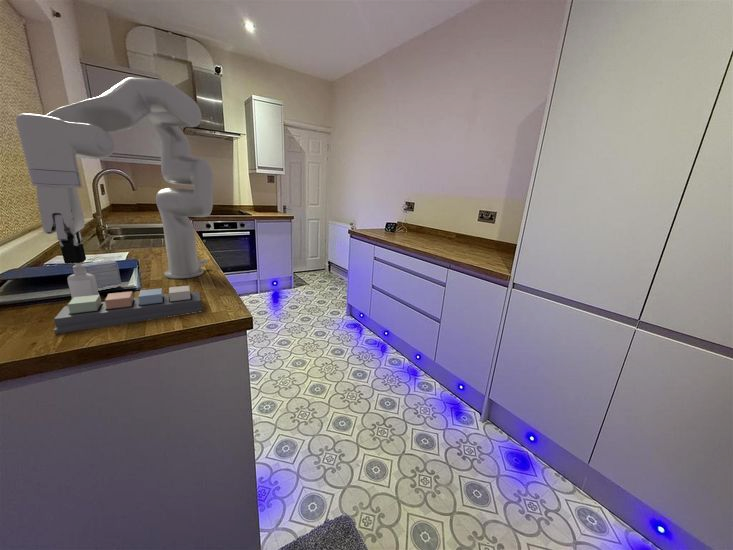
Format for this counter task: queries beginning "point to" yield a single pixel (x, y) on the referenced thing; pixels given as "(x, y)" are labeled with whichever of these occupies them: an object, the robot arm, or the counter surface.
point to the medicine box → (104, 272)
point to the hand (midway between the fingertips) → (75, 261)
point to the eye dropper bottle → (82, 282)
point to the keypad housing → (125, 313)
